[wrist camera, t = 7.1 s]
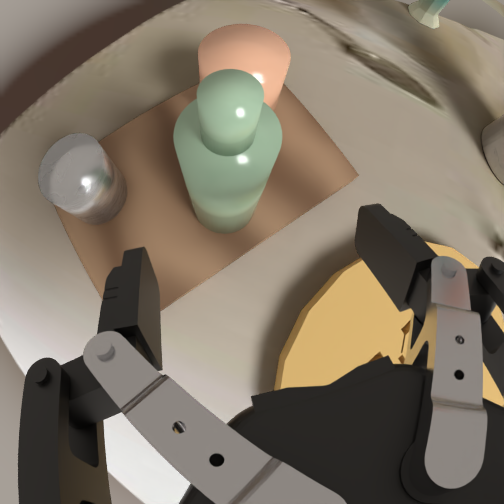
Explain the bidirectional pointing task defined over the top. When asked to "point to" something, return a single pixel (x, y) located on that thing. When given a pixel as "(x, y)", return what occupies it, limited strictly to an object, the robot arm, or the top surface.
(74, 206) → the tin
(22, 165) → the top surface
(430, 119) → the top surface
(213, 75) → the bottle
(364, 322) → the decorative plaque
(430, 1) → the sculpture
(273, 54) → the peach rounded cylinder
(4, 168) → the top surface
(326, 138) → the board
